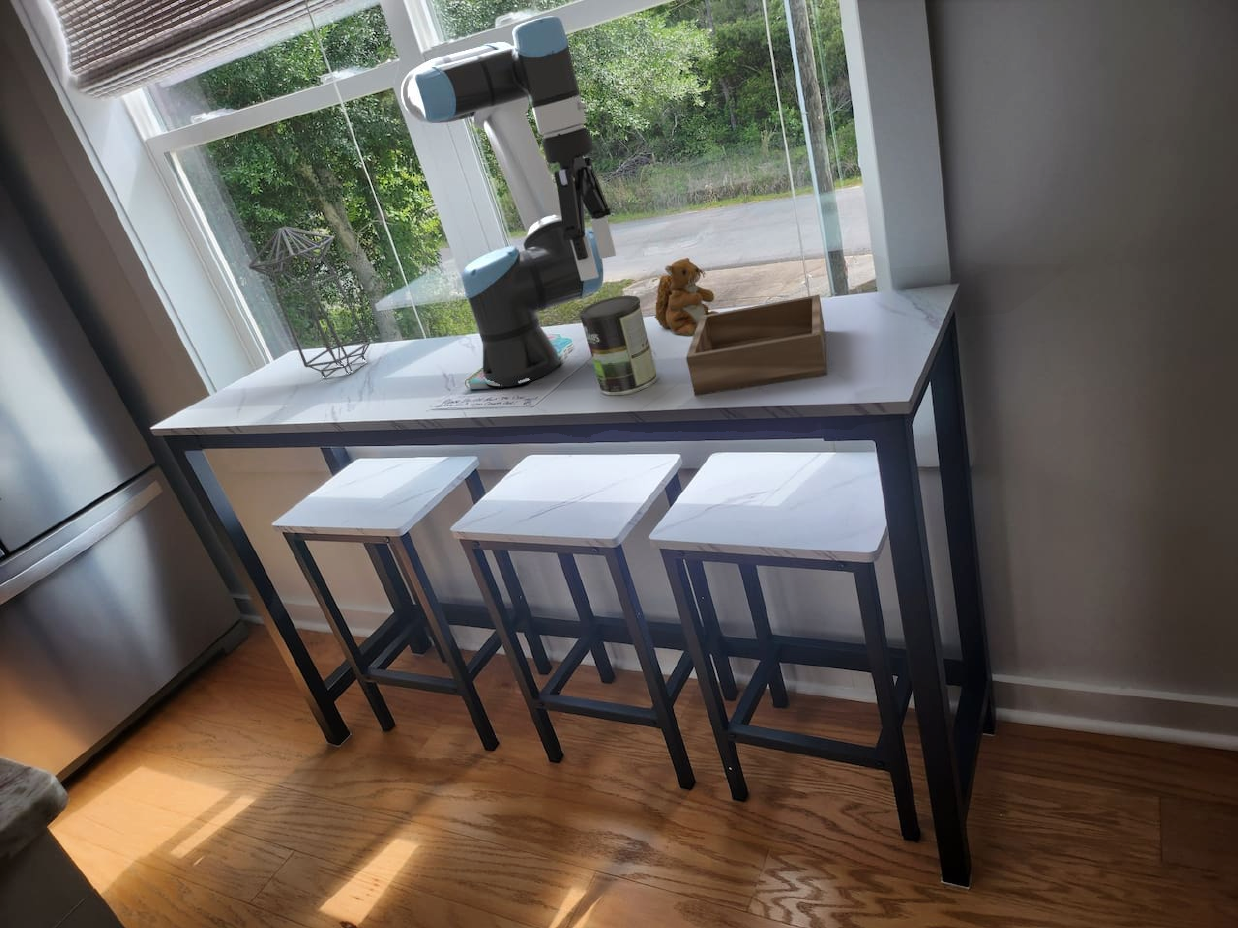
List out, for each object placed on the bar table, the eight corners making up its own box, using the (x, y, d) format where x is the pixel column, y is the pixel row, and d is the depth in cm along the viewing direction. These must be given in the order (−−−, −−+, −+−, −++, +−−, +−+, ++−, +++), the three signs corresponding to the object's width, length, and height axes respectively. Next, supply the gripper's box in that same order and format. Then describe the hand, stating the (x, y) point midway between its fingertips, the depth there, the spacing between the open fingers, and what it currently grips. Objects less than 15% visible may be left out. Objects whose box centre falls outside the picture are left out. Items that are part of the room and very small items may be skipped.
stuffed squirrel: (693, 337, 162) (678, 269, 156) (643, 332, 172) (628, 269, 167) (728, 318, 167) (715, 252, 161) (678, 315, 178) (664, 252, 172)
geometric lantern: (352, 380, 195) (286, 230, 181) (300, 389, 202) (232, 244, 187) (389, 354, 208) (330, 211, 193) (338, 363, 214) (278, 225, 200)
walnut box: (708, 350, 152) (701, 316, 150) (825, 330, 147) (819, 294, 144) (694, 395, 135) (686, 357, 132) (826, 375, 129) (820, 334, 126)
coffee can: (609, 401, 142) (587, 321, 136) (593, 385, 151) (572, 309, 145) (666, 381, 143) (647, 301, 138) (647, 367, 153) (628, 291, 147)
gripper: (566, 135, 118) (605, 284, 127) (604, 116, 140) (635, 244, 148) (516, 148, 120) (558, 293, 129) (562, 127, 142) (594, 253, 150)
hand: (599, 267), depth 139 cm, fingers open, 13 cm apart
